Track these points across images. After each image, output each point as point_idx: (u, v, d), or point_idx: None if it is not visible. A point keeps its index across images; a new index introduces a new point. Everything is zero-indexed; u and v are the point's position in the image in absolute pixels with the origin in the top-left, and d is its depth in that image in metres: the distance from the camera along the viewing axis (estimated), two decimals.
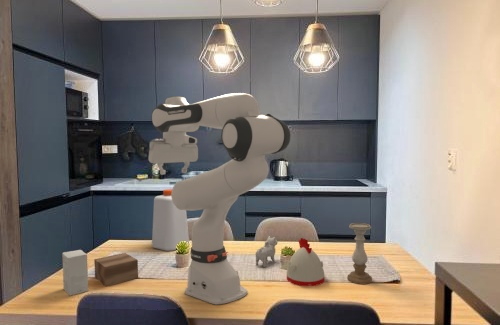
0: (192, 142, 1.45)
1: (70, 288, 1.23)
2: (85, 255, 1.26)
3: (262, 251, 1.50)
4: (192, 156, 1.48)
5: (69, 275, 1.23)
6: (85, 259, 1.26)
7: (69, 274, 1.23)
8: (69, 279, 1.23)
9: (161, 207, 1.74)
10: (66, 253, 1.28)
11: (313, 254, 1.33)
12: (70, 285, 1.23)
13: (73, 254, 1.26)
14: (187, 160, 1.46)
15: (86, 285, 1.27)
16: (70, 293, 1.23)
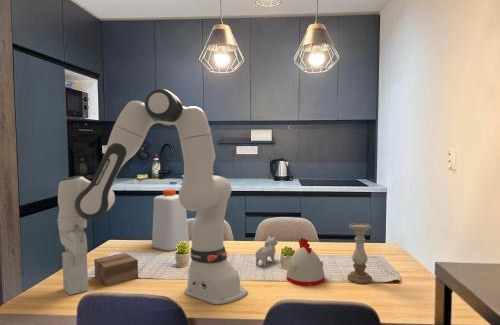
0: None
1: (70, 287, 1.23)
2: None
3: (262, 251, 1.50)
4: None
5: (69, 274, 1.23)
6: (85, 258, 1.26)
7: (69, 273, 1.23)
8: (69, 278, 1.23)
9: (160, 207, 1.74)
10: (66, 253, 1.28)
11: (313, 254, 1.33)
12: (70, 284, 1.23)
13: None
14: None
15: (86, 284, 1.27)
16: (70, 292, 1.23)
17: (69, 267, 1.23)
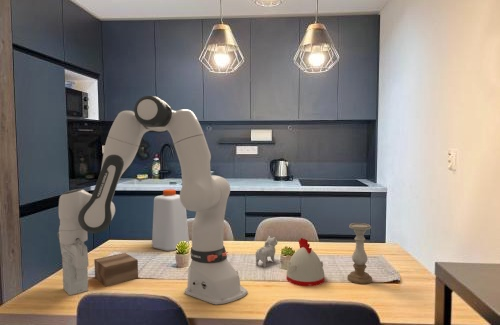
0: None
1: (70, 288, 1.24)
2: None
3: (262, 251, 1.50)
4: None
5: (69, 275, 1.23)
6: None
7: (69, 274, 1.23)
8: (69, 279, 1.23)
9: (161, 207, 1.74)
10: (66, 253, 1.28)
11: (313, 254, 1.33)
12: (70, 285, 1.23)
13: None
14: None
15: (86, 285, 1.27)
16: (70, 293, 1.24)
17: (69, 268, 1.23)
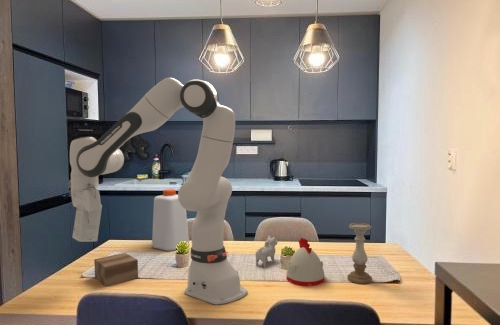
0: None
1: (81, 234, 1.25)
2: None
3: (262, 251, 1.50)
4: None
5: (82, 221, 1.25)
6: None
7: (83, 220, 1.25)
8: (82, 225, 1.25)
9: (161, 207, 1.74)
10: None
11: (313, 254, 1.33)
12: (81, 231, 1.25)
13: None
14: None
15: (96, 235, 1.28)
16: (80, 239, 1.25)
17: (84, 214, 1.26)
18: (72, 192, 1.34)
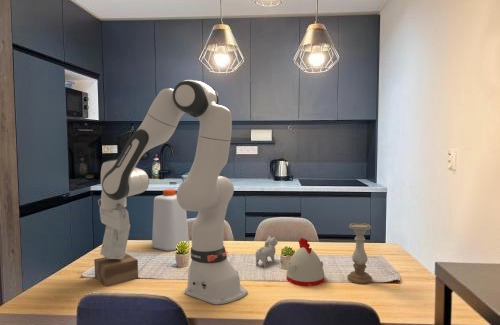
0: None
1: (110, 252, 1.34)
2: None
3: (262, 251, 1.50)
4: None
5: (112, 239, 1.34)
6: None
7: (112, 238, 1.34)
8: (111, 243, 1.34)
9: (160, 207, 1.74)
10: None
11: (313, 254, 1.33)
12: (111, 249, 1.34)
13: None
14: None
15: (123, 253, 1.37)
16: (109, 256, 1.33)
17: (114, 233, 1.34)
18: (101, 210, 1.43)
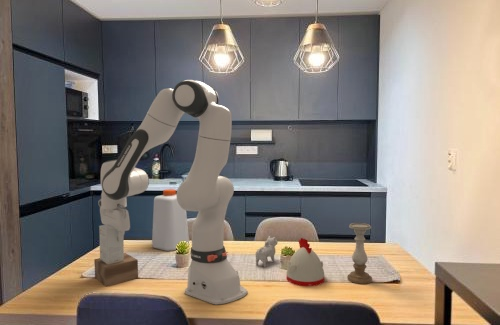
0: None
1: (108, 257, 1.33)
2: None
3: (262, 251, 1.50)
4: None
5: (107, 245, 1.33)
6: None
7: (107, 244, 1.33)
8: (107, 249, 1.33)
9: (161, 207, 1.74)
10: (103, 226, 1.37)
11: (313, 254, 1.33)
12: (108, 255, 1.33)
13: (110, 227, 1.36)
14: None
15: (122, 255, 1.37)
16: (108, 262, 1.33)
17: (108, 239, 1.33)
18: (101, 210, 1.43)
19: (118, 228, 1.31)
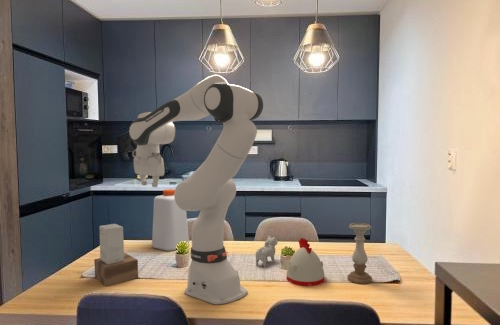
0: None
1: (108, 257, 1.33)
2: (121, 227, 1.36)
3: (262, 251, 1.50)
4: None
5: (107, 245, 1.33)
6: (121, 231, 1.36)
7: (107, 244, 1.33)
8: (107, 249, 1.33)
9: (161, 207, 1.74)
10: (103, 226, 1.38)
11: (313, 254, 1.33)
12: (108, 255, 1.33)
13: (110, 227, 1.36)
14: None
15: (122, 255, 1.37)
16: (108, 262, 1.33)
17: (108, 239, 1.33)
18: (135, 161, 1.54)
19: (154, 173, 1.43)
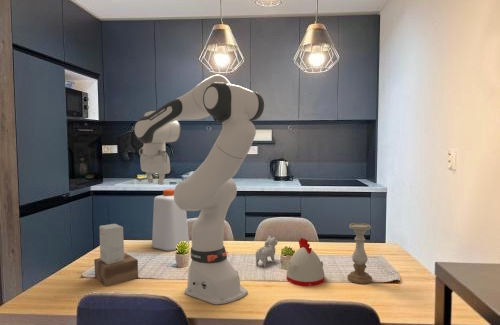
0: None
1: (108, 257, 1.33)
2: (121, 227, 1.36)
3: (262, 251, 1.50)
4: None
5: (107, 245, 1.33)
6: (121, 231, 1.36)
7: (107, 244, 1.33)
8: (107, 249, 1.33)
9: (161, 207, 1.74)
10: (103, 226, 1.38)
11: (313, 254, 1.33)
12: (108, 255, 1.33)
13: (110, 227, 1.36)
14: None
15: (122, 255, 1.37)
16: (108, 262, 1.33)
17: (108, 239, 1.33)
18: (141, 159, 1.57)
19: (160, 171, 1.45)
